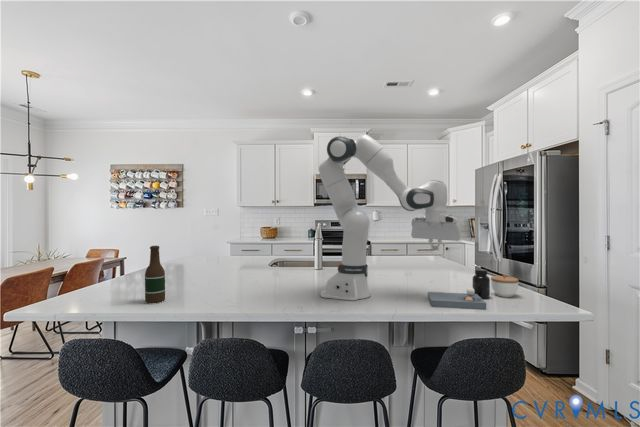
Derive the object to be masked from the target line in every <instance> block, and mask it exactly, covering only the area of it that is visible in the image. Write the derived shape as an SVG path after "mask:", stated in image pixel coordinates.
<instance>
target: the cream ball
mask: <svg viewBox="0 0 640 427" xmlns="http://www.w3.org/2000/svg"><path fill="white" fill-rule="evenodd" d="M474 293H475V290H474V289H473V287H467V288H466V294H469V295H473V294H474Z"/></svg>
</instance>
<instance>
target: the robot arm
mask: <svg viewBox="0 0 640 427" xmlns="http://www.w3.org/2000/svg"><path fill="white" fill-rule="evenodd" d="M326 153H327V155H328V158H327V159H326V160H324V161H323V162H321V163H320V164H319V166H318V172H319V176H320V179H321V183H322V185H323V187H324V189H325V191H326V194H327V196H328V198H329V200H330V202H331V204H332V207H333V209H334V213H335V214H336V217H337V220H338V222H339V224H340V225H339V226H340V227H341V228H342V230H343V233H342V234H343V236H342V245H341V262H340V263H338V264H337V272H336V273H335V274H333V275H332V276H331V277H330V278H329V279H327V281H326V284H325V289H323V290H321V291H320V297H321V298H325V299H335V300H343V301H356V300H362V299H363V300H364V299H367V298H369V297H371V292H370V289H369V283H368V282H369V281H368V275H369V268H368V267H369V266H368V264H367V245H368V238H369V228H370V227H369V226H370V218H369V216H368V215H367V213H366V212H364V211H363V210H361V209H360V208H359V205H358V202H357V199H356V196H355V192H354V190H353V187H352V186H351V183H350V182H349V181H350V180H349V179H348V177H347V175H346V173H345V170H344V165H346V164H347V163H348V162H349V161H350V160H351V159H352V158H356V159H357V160H359V161H360V162H361V163H362V164H363V166H364V167H366V169H368V170H369V171H370V172H371V173H373V175H376V176H377V177H378V178H380V180H381V181H383V182H384V184H386V185H387V187H389V188H390V190H391V191H392V192H393V193H394V194H395V195H396V196H397V198H398V200H399V204H400V206H401V207H402V208H403V209H404V210H405V211H408V212H413V211H418V210H422V209H425V213H424V216H425V217H415V218H412V220H411V234H410V235H411V236H410V237H411V238H413V239H419V240H421V239H423V240H428V243H429V245H430V246H431V248H430V250H431V251H440V246H441V244H442V243H443V241H451V242H452V241H454V242H455V241H456V242H457V241H458V242H459V241H461V239H462V231H461V226H460V225H459V224H458V222H459V218H458V217H455V216H452V215H450V214H448V208H447V203H448V187H447V184H446V183H445V182H443V181H441V180H436V179H435V180H434V179H432V180H431V179H430V180H428V181H426V183H424V184H422V185H418V186H416V187H413V188H411V187H409V186H408V185H407V184H406V183H405V181H403V180H402V179H401V177H400V176H399V175H398V174H397V172H396V170H395V167H394V160H393V158H392V156H391V155H390V153H389V152H388V150H386V149H385V147H383V146H382V145H381V144H380V143H379V142H378V141H377V140H375V139H374V138H373V137H371V135H368V134H367V133H366V134H361V135H359V136H357V137H356V138H355V139H352V138H349V137H346V136H335V137H333V138H331V139H330V140H329V142H328V143H327V146H326ZM434 240H437V242H438V244H437V245H434V243H433V242H434Z"/></svg>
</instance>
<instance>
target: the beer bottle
mask: <svg viewBox="0 0 640 427" xmlns="http://www.w3.org/2000/svg"><path fill="white" fill-rule="evenodd" d="M149 249H150V256H149V265H148V266H147V268H146V270H145V273H144V300H145V303H146V302H147V303H156V304H160V303H159V302H161V303H163V302H165V301H166V272H165V269H164V267H163V266H162V264H161V260H160V246H159V245H150V246H149ZM164 300H165V301H164ZM162 301H163V302H162ZM147 303H146V304H147Z"/></svg>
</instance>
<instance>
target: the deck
mask: <svg viewBox="0 0 640 427" xmlns="http://www.w3.org/2000/svg"><path fill="white" fill-rule="evenodd" d="M467 297H471V298H472V299H473V300H465V299H466V298H467ZM427 299H428V301H429V304H430V305H431V307H432V308H450V309H466V310H467V309H470V310H473V309H474V310H487V302H486V301H485V299H482V298H480V297H479V296H478V295H477V294H473V295H469V294H467V292H466V293H462V292H461V293H460V292H438V291H427Z"/></svg>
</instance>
